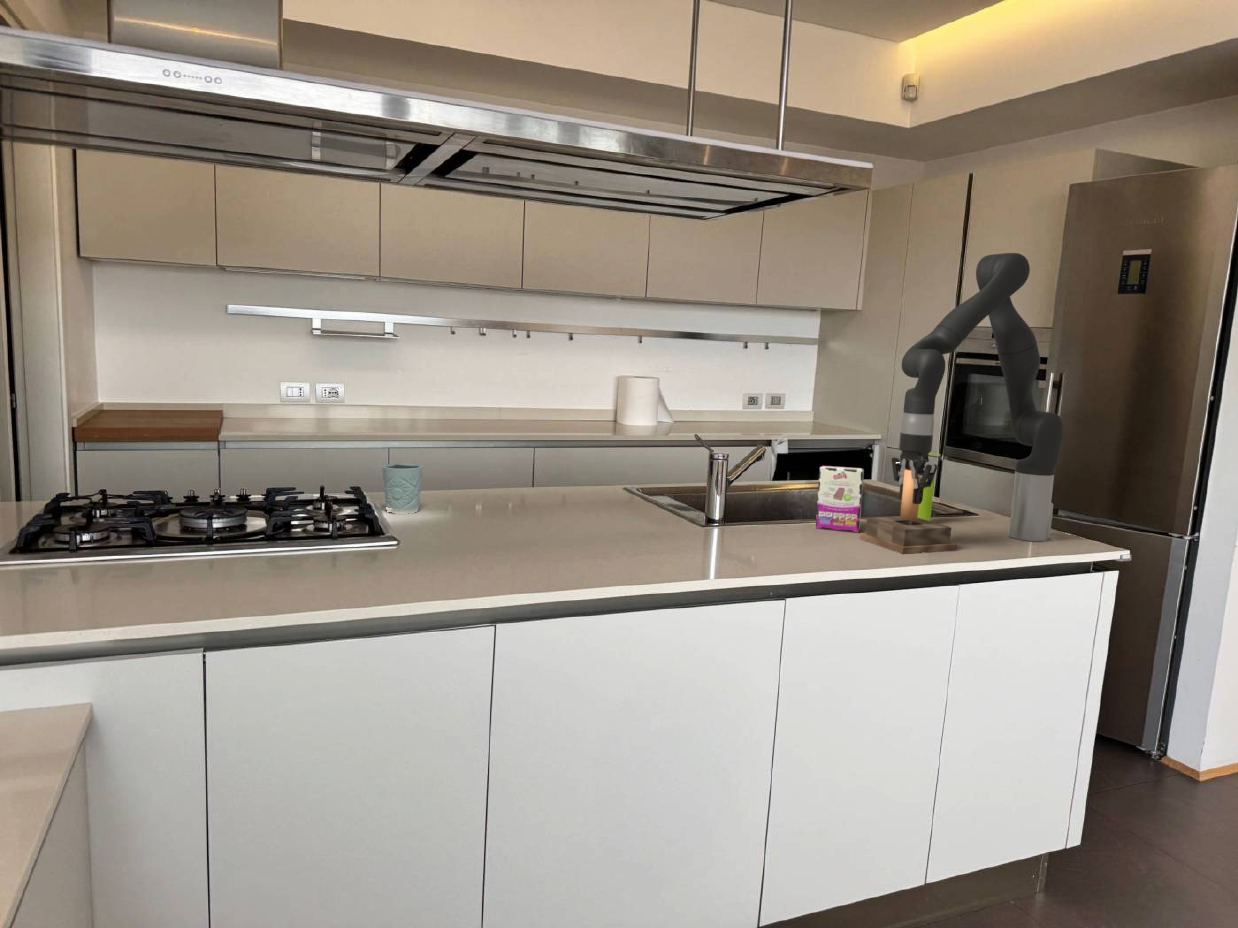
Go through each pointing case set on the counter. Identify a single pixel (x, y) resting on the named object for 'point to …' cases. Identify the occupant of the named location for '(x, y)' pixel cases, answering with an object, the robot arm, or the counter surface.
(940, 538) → the socket block
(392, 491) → the teal embossed pot
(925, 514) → the soap dispenser
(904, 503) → the wooden pin
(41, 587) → the counter surface
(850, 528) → the candy bar box
